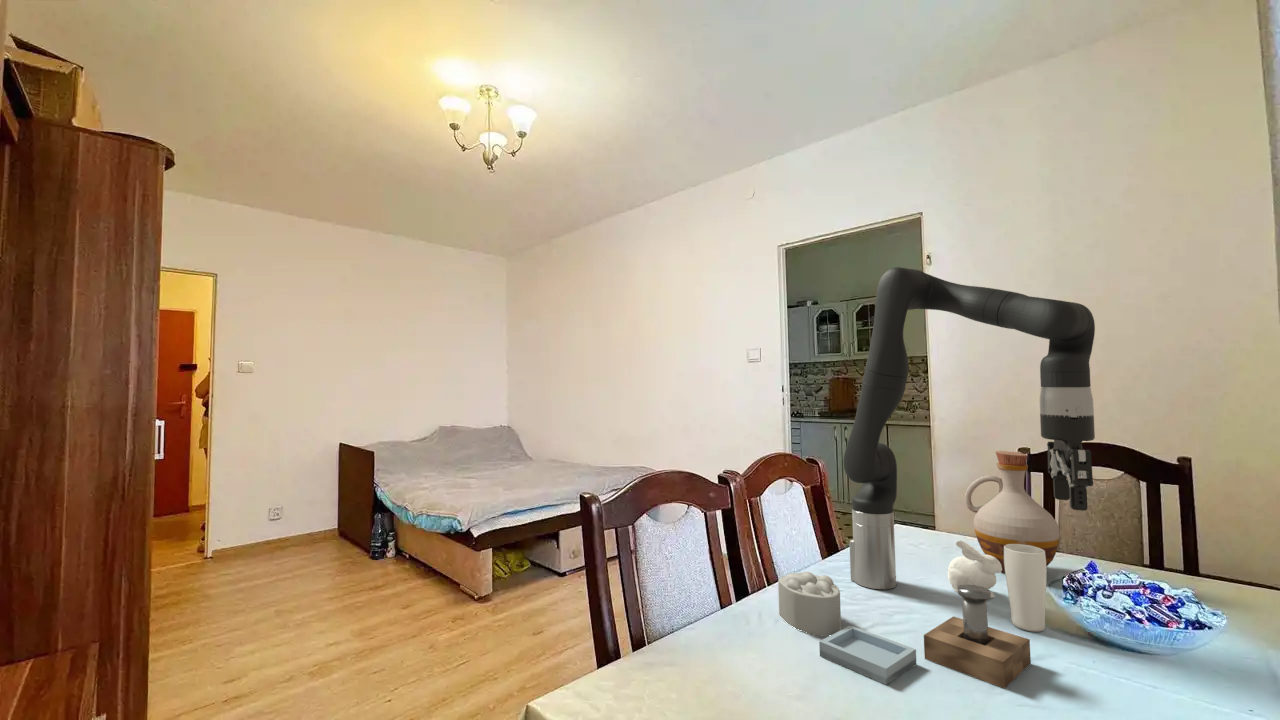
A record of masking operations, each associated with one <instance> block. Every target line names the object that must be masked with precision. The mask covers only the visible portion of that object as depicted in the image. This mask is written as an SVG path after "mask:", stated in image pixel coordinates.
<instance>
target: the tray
mask: <svg viewBox="0 0 1280 720" xmlns="http://www.w3.org/2000/svg"><path fill="white" fill-rule="evenodd" d="M818 644H819V656H820V657H821V658H823V659H826V660H828V661H830V660H831V662H833V663H835V664H837V665H839V664H840V665H839V666H842V667H844V668H846V669H848V670H851V671H853V672H856V673H858V674H860V675H863V676H865V677H867V678H870V679H871V680H875V681H877V682H879V683H881V684H884V685H886V686H887V685H889V684H890V683H892V682H894V681H896V680H897V679H898V678H899V677H901V676H902V675H904V674H905V673H906V672H908V671H909V670H911V669H912V668H914V667H915V666H916V665H917V649H916V648H914V647H911V646H908V645H905V644H902V643H900V642H898V641H894V640H893V639H889V638H887V637H884V636H881V635H878V634H875V633H872V632H870V631H867V630H865V629H861V628H859V627H856V626H853V625H848V626H846V627H845V628H843V629H842V628H841V630H840V631H838V632H837V633H835V634H833V635H831V636H826V637H825V638H823V639H821V640H819V643H818Z"/></svg>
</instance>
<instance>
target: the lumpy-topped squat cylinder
mask: <svg viewBox="0 0 1280 720" xmlns="http://www.w3.org/2000/svg"><path fill="white" fill-rule="evenodd" d="M777 584H778V586H777V587H778V616H779V615H780V616H781V617H782V618H783V619H784V620H785V621H786V622H787V623H788V624H790V625H791V626H793V627H795V628H796V629H799V630H802V631H805V632H807V633H806V634H808V633H810V634H809V635H812V634H815V635H814V636H818V635H823V636H822V637H829V635H833V634H835V633H837V632H838V631H840V630H842V618H841V617H842V616H841V614H842V613H841V591H840V588H839V587H838V585H836V584H835V583H834V581H833V578H831V577H830V576H829V575H826V574H823V575H821V576H819V575H817V574H814V573H812V572H810V571H803V572H794V573H788V574H787V575H786V576H781V577H779V578H778V582H777ZM780 616H779V617H780ZM784 620H783V621H784ZM785 621H784V622H785ZM786 622H785V623H786ZM787 623H786V624H787ZM788 624H787V625H788ZM790 625H789V626H790ZM791 626H790V627H791ZM793 627H792V628H793ZM796 629H795V630H796ZM799 630H798V631H799ZM802 631H801V632H802ZM805 632H804V633H805Z"/></svg>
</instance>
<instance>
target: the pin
mask: <svg viewBox="0 0 1280 720" xmlns="http://www.w3.org/2000/svg"><path fill="white" fill-rule="evenodd" d="M991 592H992V591H991V590H990V589H986V588H984V587H981V586H976V585H969V584H963V585H959V586H958V592H957V595H958V596H960V597H961V600H962V602H961V604H962V605H961V606H962V619H963V628H964V639H966V640H969V641H972V642H976V643H979V644H982V645H985V646H986V645H987V644H988V643H989V638H988V627H989V621H988V617H989V616H988V601H990V600H991V599H992V598H991Z"/></svg>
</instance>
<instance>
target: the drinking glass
mask: <svg viewBox="0 0 1280 720" xmlns="http://www.w3.org/2000/svg"><path fill="white" fill-rule="evenodd" d="M1004 567H1005V574H1004V575H1005V581H1006V586H1007V595H1008V601H1009V608H1010V620H1011V623H1012V624H1013V626H1014V627H1016V628H1018V629H1019V630H1023V631H1025V632H1026V631H1027V632H1033V633H1040V632H1043V631H1044V630H1045V629H1046V596H1047V579H1048V573H1047V572H1048V566H1046V555H1045V551H1044V550H1043V549H1041V548H1038V547H1034V546H1030V545H1023V544H1007V545H1005V546H1004Z"/></svg>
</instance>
